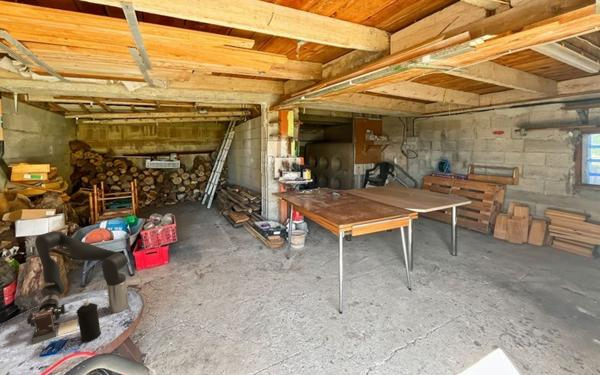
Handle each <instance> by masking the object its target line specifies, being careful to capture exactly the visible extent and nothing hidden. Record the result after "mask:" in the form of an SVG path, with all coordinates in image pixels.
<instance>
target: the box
mask: <svg viewBox="0 0 600 375" xmlns="http://www.w3.org/2000/svg"><path fill="white" fill-rule="evenodd" d="M37 312H38V311H37ZM37 312H35V313H36V315H35V322H36V323H35V328H37V336H40V335H43V334H46V333H49V332H53V331H56V326H55V324H54V323H55V317H54V316H53V311H52V309H50V310H45V311H42V312H38V313H37Z"/></svg>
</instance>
